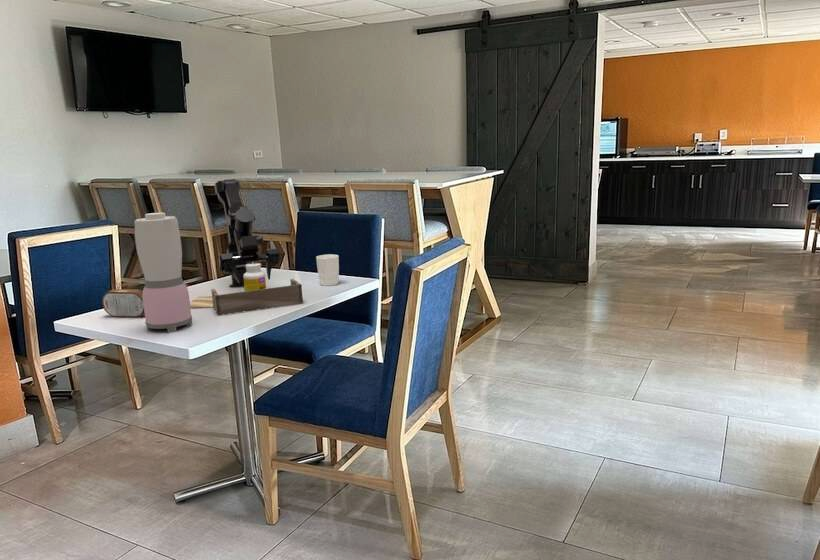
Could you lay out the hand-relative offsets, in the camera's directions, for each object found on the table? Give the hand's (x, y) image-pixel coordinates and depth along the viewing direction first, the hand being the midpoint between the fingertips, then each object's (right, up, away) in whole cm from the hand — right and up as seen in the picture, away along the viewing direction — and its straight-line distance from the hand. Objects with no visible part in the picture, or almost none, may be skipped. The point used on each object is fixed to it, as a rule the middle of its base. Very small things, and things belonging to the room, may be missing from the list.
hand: (254, 280), depth 195 cm
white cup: (+20, -1, +27) cm, 33 cm away
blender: (-20, -13, -19) cm, 31 cm away
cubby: (+1, -8, 0) cm, 8 cm away
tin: (-37, -11, -6) cm, 39 cm away
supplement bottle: (0, -8, +2) cm, 8 cm away
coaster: (-16, -7, +6) cm, 18 cm away
